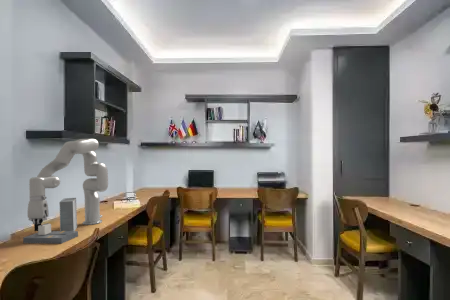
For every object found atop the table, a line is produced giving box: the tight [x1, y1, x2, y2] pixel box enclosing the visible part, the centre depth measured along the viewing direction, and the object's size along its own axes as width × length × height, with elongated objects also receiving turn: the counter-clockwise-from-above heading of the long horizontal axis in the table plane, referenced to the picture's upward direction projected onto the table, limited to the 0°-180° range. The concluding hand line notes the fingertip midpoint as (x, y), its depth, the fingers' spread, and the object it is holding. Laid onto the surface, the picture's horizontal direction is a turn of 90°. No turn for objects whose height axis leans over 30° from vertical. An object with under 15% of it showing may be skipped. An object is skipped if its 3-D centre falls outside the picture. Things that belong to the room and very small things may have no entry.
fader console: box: [22, 230, 79, 244], centre depth 163 cm, size 14×23×3 cm, turn 83°
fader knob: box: [37, 223, 52, 235], centre depth 164 cm, size 5×4×5 cm
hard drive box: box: [59, 197, 78, 231], centre depth 183 cm, size 16×8×20 cm, turn 21°
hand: (37, 230), depth 164 cm, fingers closed
